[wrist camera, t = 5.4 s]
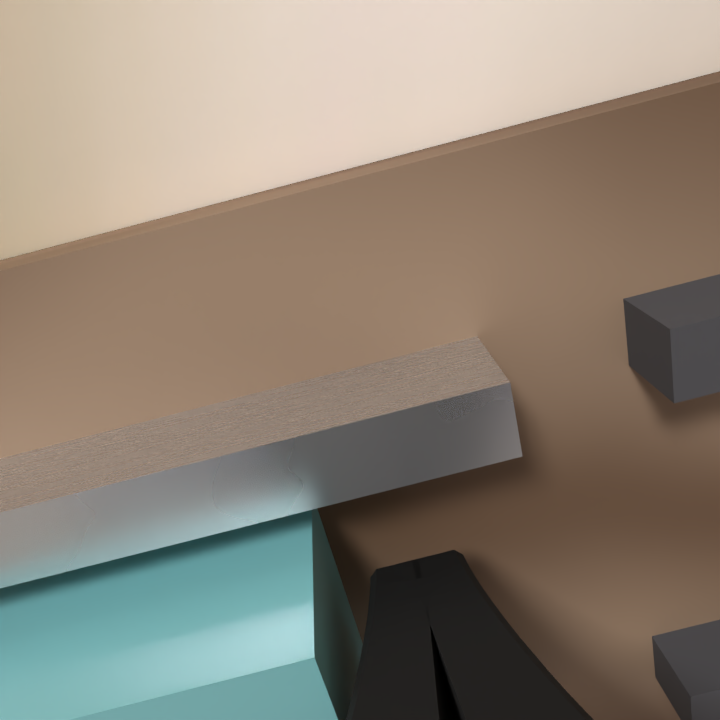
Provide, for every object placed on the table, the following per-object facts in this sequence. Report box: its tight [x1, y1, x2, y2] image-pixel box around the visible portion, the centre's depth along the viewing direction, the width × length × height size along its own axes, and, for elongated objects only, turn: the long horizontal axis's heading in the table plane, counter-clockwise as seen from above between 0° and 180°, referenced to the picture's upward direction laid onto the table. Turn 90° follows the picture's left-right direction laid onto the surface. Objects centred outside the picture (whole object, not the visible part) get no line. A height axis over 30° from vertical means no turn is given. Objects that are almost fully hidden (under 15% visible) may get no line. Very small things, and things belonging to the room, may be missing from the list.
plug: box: [0, 509, 363, 720], centre depth 9 cm, size 4×5×3 cm
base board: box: [0, 72, 720, 720], centre depth 11 cm, size 12×29×1 cm, turn 104°
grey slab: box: [0, 336, 522, 588], centre depth 9 cm, size 7×11×2 cm, turn 104°
